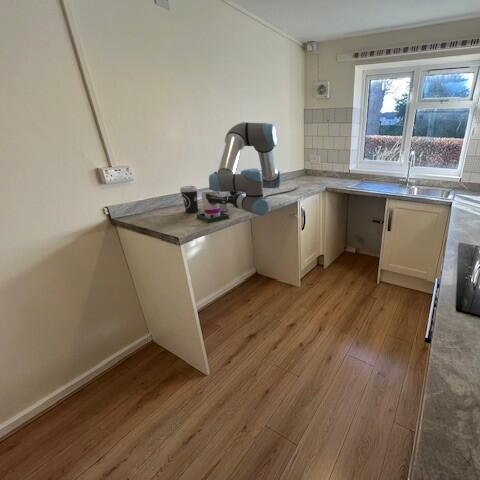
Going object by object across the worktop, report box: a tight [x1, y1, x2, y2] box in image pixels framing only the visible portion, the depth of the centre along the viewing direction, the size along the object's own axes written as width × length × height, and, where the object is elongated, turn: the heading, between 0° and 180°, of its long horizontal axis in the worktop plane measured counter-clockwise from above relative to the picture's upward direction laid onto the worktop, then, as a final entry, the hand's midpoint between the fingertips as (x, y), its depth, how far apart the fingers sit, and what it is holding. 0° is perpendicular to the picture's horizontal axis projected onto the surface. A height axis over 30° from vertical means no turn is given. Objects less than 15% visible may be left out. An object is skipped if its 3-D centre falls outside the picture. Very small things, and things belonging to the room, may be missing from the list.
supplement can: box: [201, 189, 220, 219], centre depth 143 cm, size 8×8×15 cm
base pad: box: [196, 211, 230, 224], centre depth 146 cm, size 13×13×2 cm
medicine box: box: [218, 195, 228, 212], centre depth 159 cm, size 8×4×9 cm, turn 111°
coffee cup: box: [179, 185, 199, 214], centre depth 155 cm, size 10×10×15 cm
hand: (219, 194), depth 135 cm, fingers open, 13 cm apart
